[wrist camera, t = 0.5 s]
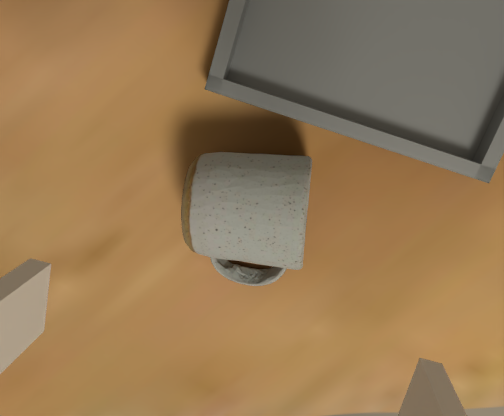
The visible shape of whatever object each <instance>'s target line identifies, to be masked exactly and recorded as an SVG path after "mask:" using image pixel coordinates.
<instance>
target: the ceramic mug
mask: <svg viewBox="0 0 504 416" xmlns="http://www.w3.org/2000/svg"><path fill="white" fill-rule="evenodd" d="M311 167H312V159H311V158H310V157H309V156H289V155H273V154H248V153H233V152H215V153H205V154H202V155H200V156H198V157H197V158H196V159H195V160H194V161H193V162H192V164H191V165H190V167H189V170H188V172H187V175H186V179H185V183H184V188H183V195H182V207H181V221H182V231H183V237H184V240H185V243H186V244H187V245H188V247H189V248H190V249H191V250H192V251H193V252H196V253H198V254H201V255H204V256H208V257H210V258H211V262H212V264H213V265H214V267H215V269H216V270H217V271H218V272H219V273H220V274H221V275H223V276H224V277H226V278H227V279H229V280H232V281H234V282H237V283H240V284H245V285H251V286H262V285H267V284H271V283H273V282H275V281H276V280H278V279H279V278H280V277H281V276H282V275H283V273H284V272H285V271H286V269H287V268H288V269H294V270H298V269H301V268H302V267H303V254H304V244H305V230H306V221H307V209H308V200H309V189H310V177H311ZM228 260H236V261H243V262H249V263H255V264H261V265H267V266H273V267H272V268H268V269H254V268H249V267H244V266H240V265H238V264H232V263H231V262H229V261H228Z"/></svg>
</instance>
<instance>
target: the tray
mask: <svg viewBox="0 0 504 416" xmlns="http://www.w3.org/2000/svg"><path fill="white" fill-rule="evenodd" d="M205 89H206V90H209V91H212V92H215V93H218V94H221V95H224V96H227V97H230V98H233V99H236V100H239V101H242V102H245V103H248V104H251V105H254V106H257V107H260V108H263V109H266V110H269V111H272V112H275V113H278V114H281V115H284V116H287V117H290V118H293V119H296V120H299V121H302V122H305V123H308V124H311V125H314V126H317V127H320V128H323V129H326V130H330V131H333V132H336V133H339V134H342V135H345V136H348V137H351V138H354V139H357V140H360V141H363V142H366V143H369V144H372V145H375V146H378V147H381V148H384V149H387V150H390V151H393V152H396V153H399V154H402V155H405V156H408V157H411V158H414V159H417V160H420V161H423V162H426V163H429V164H432V165H435V166H438V167H441V168H444V169H447V170H450V171H453V172H456V173H459V174H462V175H465V176H469V177H472V178H475V179H478V180H481V181H484V182H487V183H489V182H490V180H491V178H492V176H493V174H494V172H495V170H496V167H497V165H498V163H499V161H500V159H501V157H502V155H503V153H504V0H229V3H228V7H227V10H226V14H225V18H224V21H223V25H222V29H221V32H220V36H219V39H218V43H217V47H216V50H215V54H214V58H213V61H212V65H211V68H210V72H209V76H208V79H207V83H206V86H205Z"/></svg>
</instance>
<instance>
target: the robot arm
mask: <svg viewBox="0 0 504 416" xmlns="http://www.w3.org/2000/svg"><path fill="white" fill-rule="evenodd" d="M50 270H51V264H50V263H46V262H43V261H39V260H35V259H31V258H30V259H29V260H27V261H26V262H24V263H23V264H21V265H20V266H18V267H17V268H15V269H14V270H12V271H11V272H9V273H8V274H6V275H5V276H3V277H2V278H0V374H1V373H2V372H3V371H4V370H5V369H6V368H7V367H8V366H9V365H10V364H11V363H12V362H13V361H14V360H15V359H16V358H17V357H18V356H19V355H20V354H21V353H22V352H23V351H24V350H25V349H26V348H27V347H28V346H29V345H30V344H31V343H32V342H33V341H34V340H35V339H36V338H38V337H39V336H40V335H41V334H42V333H43V332H44V326H45V317H46V307H47V298H48V288H49V279H50ZM398 416H467V415H466V413H465V411H464V409H463V406H462V404H461V402H460V400H459V398H458V396H457V394H456V392H455V390H454V388H453V386H452V383H451V381H450V379H449V377H448V375H447V373H446V371H445V369H444V367H443V365H442V363H438V362H434V361H430V360H426V359H422V358H419V361H418V364H417V366H416V369H415V372H414V374H413V377H412V380H411V382H410V385H409V387H408V390H407V393H406V395H405V398H404V401H403V403H402V406H401V409H400V411H399V414H398Z"/></svg>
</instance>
